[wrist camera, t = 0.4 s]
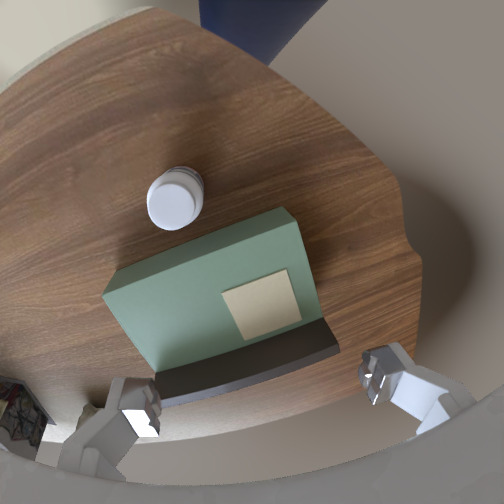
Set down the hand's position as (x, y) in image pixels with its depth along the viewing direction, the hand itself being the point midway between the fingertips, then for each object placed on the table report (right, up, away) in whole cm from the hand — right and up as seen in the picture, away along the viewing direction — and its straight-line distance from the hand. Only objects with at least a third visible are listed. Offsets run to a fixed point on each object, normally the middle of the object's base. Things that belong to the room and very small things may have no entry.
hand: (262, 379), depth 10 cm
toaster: (-59, -30, +31) cm, 73 cm away
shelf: (-5, 0, +26) cm, 26 cm away
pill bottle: (-8, +12, +21) cm, 25 cm away
